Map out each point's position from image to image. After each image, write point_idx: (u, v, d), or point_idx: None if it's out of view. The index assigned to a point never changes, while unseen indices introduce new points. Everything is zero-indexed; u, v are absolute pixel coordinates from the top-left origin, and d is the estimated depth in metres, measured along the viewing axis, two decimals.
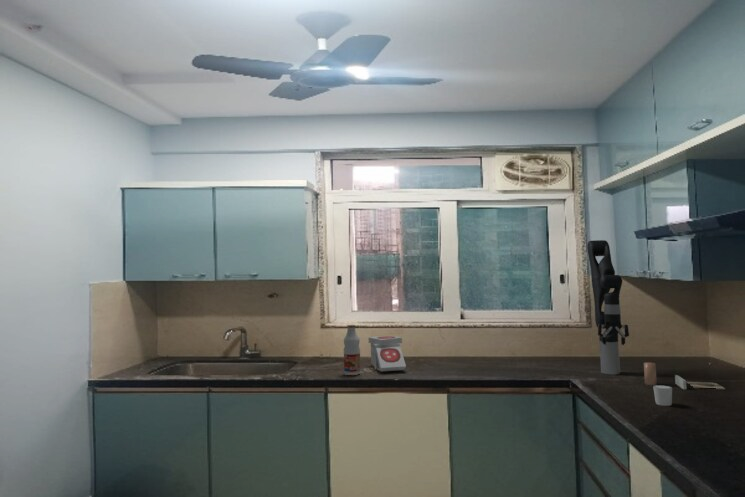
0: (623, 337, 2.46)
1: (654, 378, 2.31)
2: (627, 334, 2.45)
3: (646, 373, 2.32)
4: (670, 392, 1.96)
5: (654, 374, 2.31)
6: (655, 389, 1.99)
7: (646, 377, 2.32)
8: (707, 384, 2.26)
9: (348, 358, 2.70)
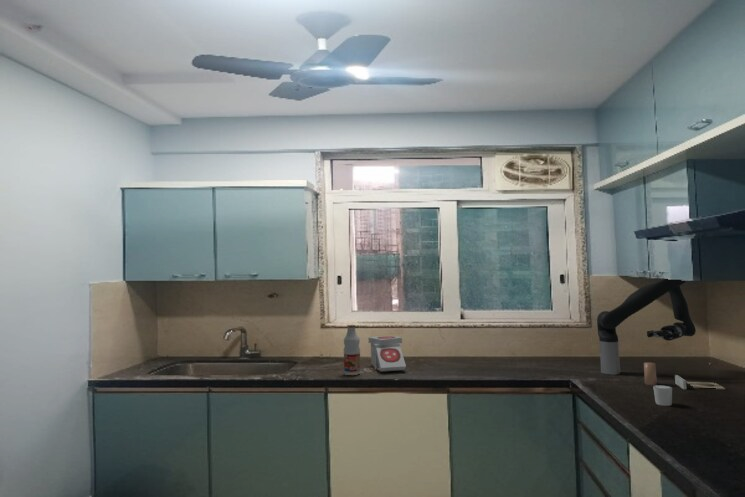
0: (651, 336, 2.47)
1: (654, 378, 2.31)
2: None
3: (646, 373, 2.32)
4: (670, 392, 1.96)
5: (654, 374, 2.31)
6: (655, 389, 1.99)
7: (646, 377, 2.32)
8: (707, 384, 2.26)
9: (348, 358, 2.70)
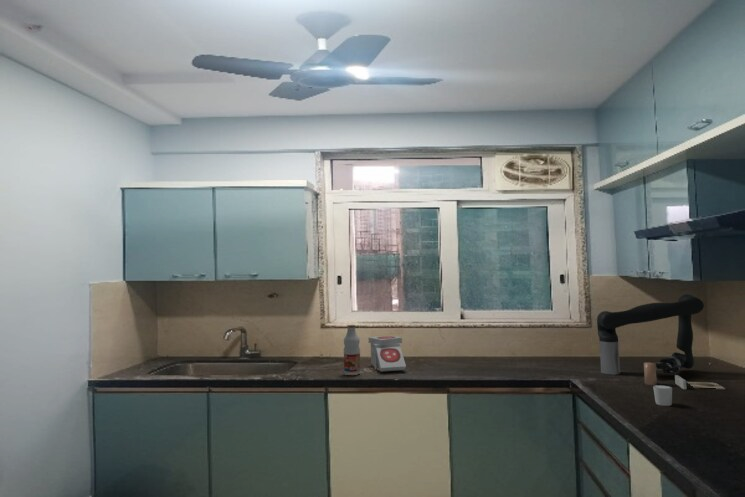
0: None
1: (654, 378, 2.31)
2: None
3: (646, 373, 2.32)
4: (670, 392, 1.96)
5: (654, 374, 2.31)
6: (655, 389, 1.99)
7: (646, 377, 2.32)
8: (707, 384, 2.26)
9: (348, 358, 2.70)
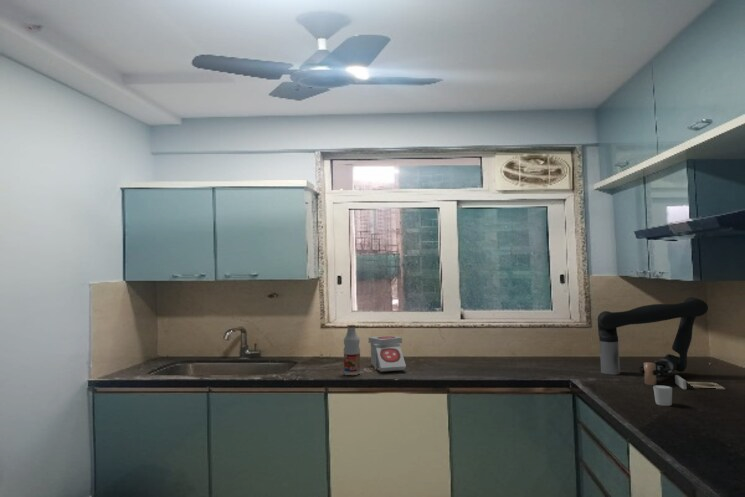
0: None
1: (654, 378, 2.31)
2: None
3: (646, 373, 2.32)
4: (670, 392, 1.96)
5: None
6: (655, 389, 1.99)
7: (646, 377, 2.32)
8: (707, 384, 2.26)
9: (348, 358, 2.70)
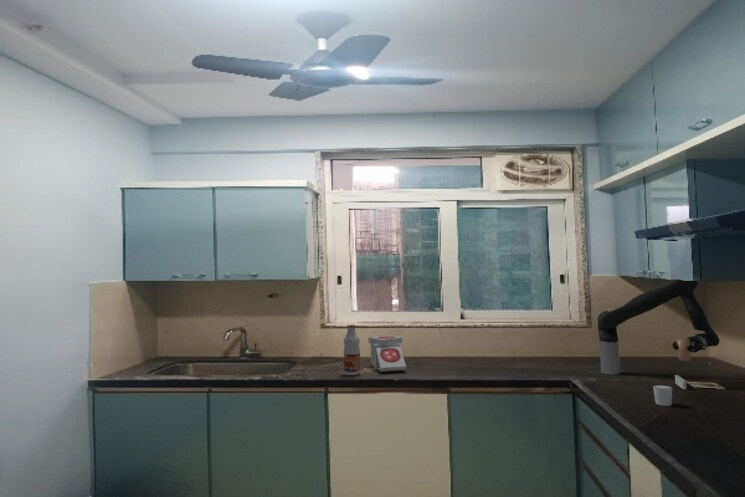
0: None
1: (688, 354, 2.27)
2: None
3: (680, 349, 2.29)
4: (670, 392, 1.96)
5: None
6: (655, 389, 1.99)
7: (680, 353, 2.29)
8: (707, 384, 2.26)
9: (348, 358, 2.70)
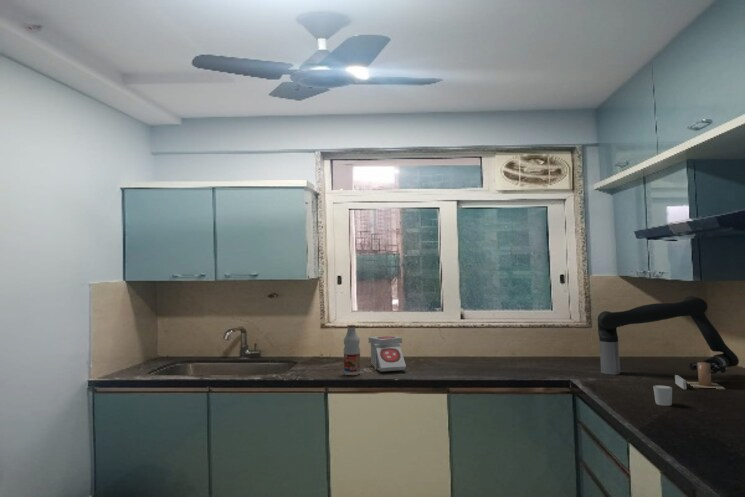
0: None
1: (709, 378, 2.24)
2: None
3: (700, 373, 2.26)
4: (670, 392, 1.96)
5: (709, 374, 2.24)
6: (655, 389, 1.99)
7: (700, 377, 2.26)
8: None
9: (348, 358, 2.70)
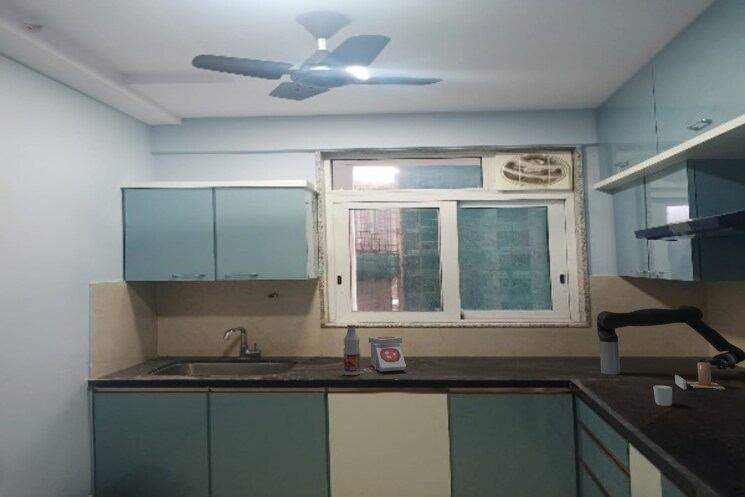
0: None
1: (709, 378, 2.24)
2: None
3: (700, 373, 2.26)
4: (670, 392, 1.96)
5: (709, 374, 2.24)
6: (655, 389, 1.99)
7: (700, 377, 2.26)
8: None
9: (348, 358, 2.70)
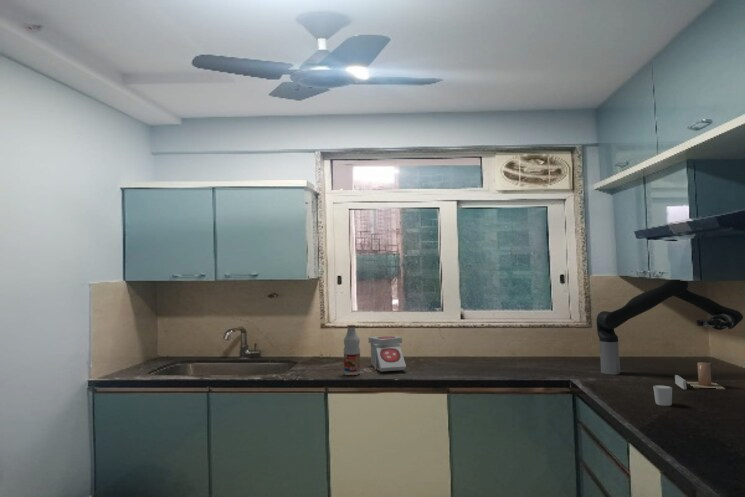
0: (702, 325, 2.40)
1: (709, 378, 2.24)
2: (699, 325, 2.43)
3: (700, 373, 2.26)
4: (670, 392, 1.96)
5: (709, 374, 2.24)
6: (655, 389, 1.99)
7: (700, 377, 2.26)
8: None
9: (348, 358, 2.70)
